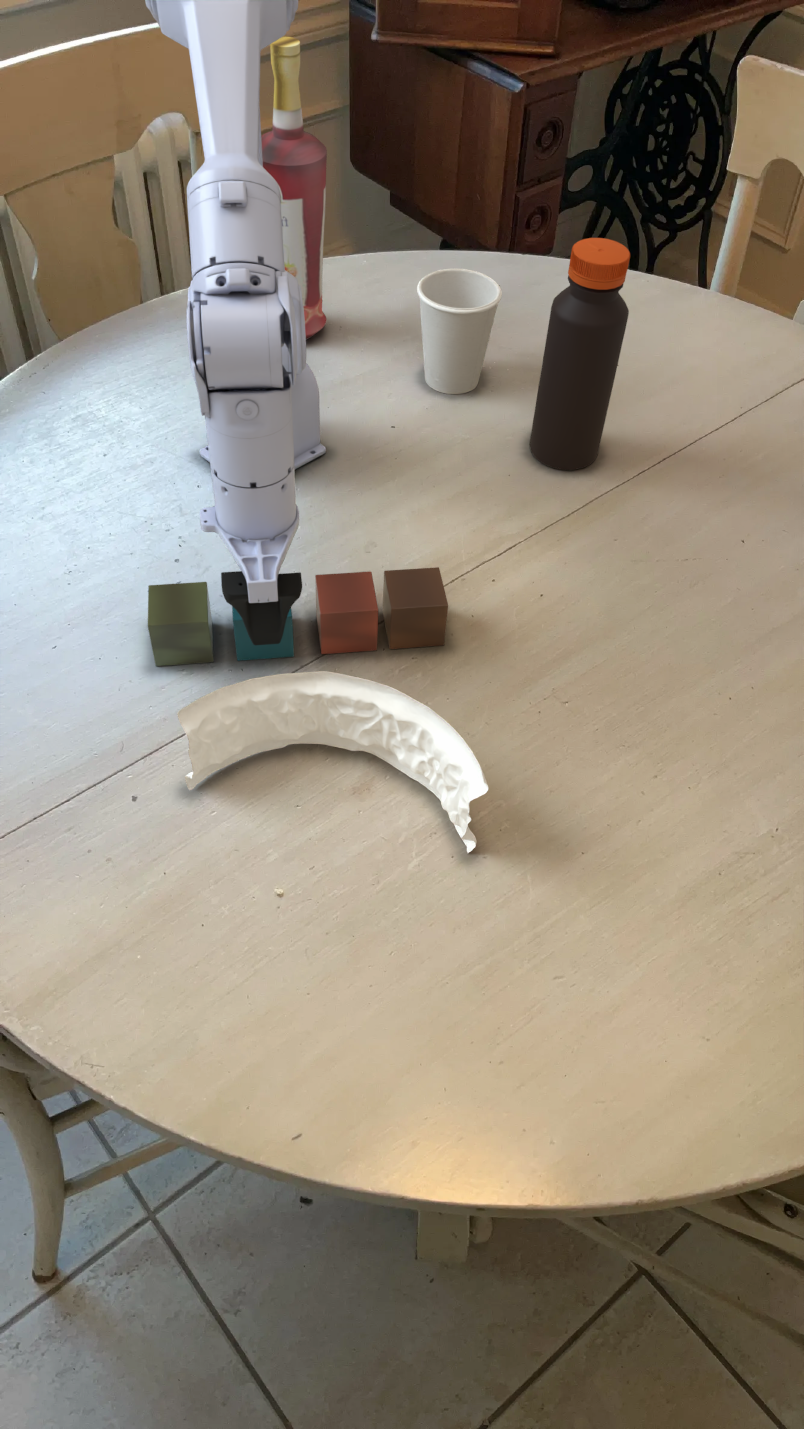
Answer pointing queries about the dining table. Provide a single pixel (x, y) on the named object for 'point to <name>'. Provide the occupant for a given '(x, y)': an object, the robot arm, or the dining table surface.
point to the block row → (340, 612)
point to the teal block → (252, 652)
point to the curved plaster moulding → (335, 731)
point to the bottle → (581, 356)
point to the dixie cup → (456, 326)
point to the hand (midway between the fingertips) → (263, 606)
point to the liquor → (297, 181)
